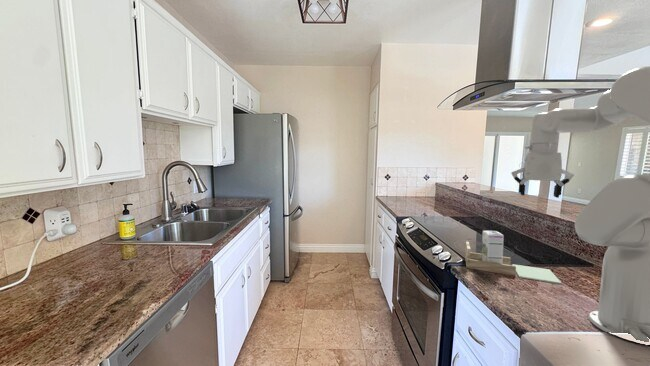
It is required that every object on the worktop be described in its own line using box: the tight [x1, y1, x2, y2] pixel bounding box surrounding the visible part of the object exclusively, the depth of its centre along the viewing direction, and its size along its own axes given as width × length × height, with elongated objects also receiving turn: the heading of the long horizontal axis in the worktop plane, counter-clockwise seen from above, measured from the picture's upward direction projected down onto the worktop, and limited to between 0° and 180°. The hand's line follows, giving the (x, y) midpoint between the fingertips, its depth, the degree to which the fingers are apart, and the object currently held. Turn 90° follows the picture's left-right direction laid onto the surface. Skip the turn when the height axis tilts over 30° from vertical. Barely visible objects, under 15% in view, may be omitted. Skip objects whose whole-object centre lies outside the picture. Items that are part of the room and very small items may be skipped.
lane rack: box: [464, 241, 517, 276], centre depth 103 cm, size 10×16×8 cm, turn 64°
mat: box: [511, 263, 562, 285], centre depth 96 cm, size 12×12×1 cm
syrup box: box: [481, 230, 505, 264], centre depth 102 cm, size 6×6×14 cm
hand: (538, 195), depth 92 cm, fingers open, 9 cm apart
